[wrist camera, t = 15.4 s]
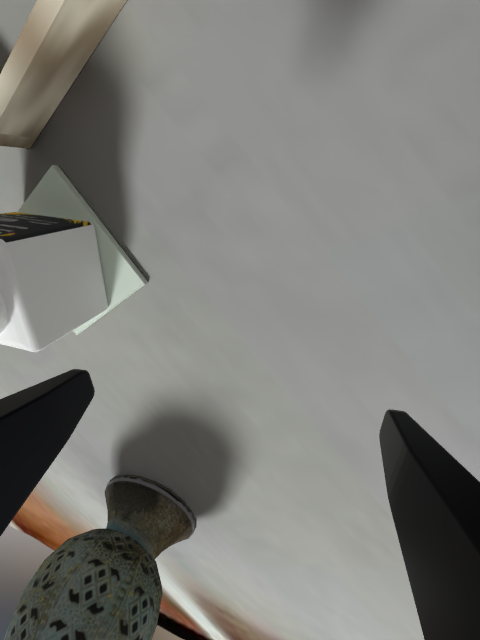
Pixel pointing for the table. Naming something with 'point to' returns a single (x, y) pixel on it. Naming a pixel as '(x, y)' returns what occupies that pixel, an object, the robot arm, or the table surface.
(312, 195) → the table surface
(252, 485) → the table surface
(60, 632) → the lantern
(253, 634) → the table surface
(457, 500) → the robot arm
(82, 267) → the medicine bottle
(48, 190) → the sage mat
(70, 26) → the birch box
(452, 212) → the table surface
